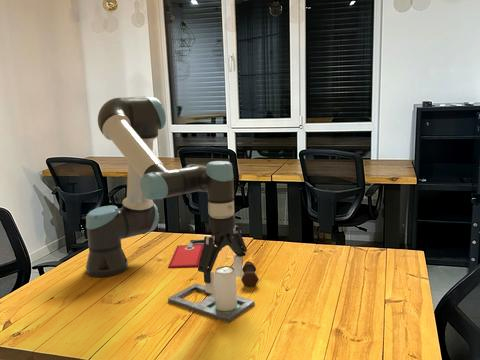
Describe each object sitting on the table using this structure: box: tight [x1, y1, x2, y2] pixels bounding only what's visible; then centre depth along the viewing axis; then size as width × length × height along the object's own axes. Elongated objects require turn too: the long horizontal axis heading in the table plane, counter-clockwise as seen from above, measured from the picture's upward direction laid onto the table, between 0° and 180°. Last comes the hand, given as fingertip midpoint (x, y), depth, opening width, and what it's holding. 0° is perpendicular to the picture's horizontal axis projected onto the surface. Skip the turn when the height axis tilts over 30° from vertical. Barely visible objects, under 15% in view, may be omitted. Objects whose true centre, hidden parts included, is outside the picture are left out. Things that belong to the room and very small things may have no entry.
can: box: [214, 265, 238, 312], centre depth 132 cm, size 6×6×12 cm
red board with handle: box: [167, 239, 204, 269], centre depth 181 cm, size 30×3×15 cm
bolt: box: [240, 261, 259, 288], centre depth 154 cm, size 6×5×15 cm
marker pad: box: [210, 303, 241, 314], centre depth 133 cm, size 8×8×1 cm
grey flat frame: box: [167, 283, 256, 324], centre depth 137 cm, size 24×13×1 cm, turn 53°
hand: (224, 284), depth 132 cm, fingers open, 13 cm apart
